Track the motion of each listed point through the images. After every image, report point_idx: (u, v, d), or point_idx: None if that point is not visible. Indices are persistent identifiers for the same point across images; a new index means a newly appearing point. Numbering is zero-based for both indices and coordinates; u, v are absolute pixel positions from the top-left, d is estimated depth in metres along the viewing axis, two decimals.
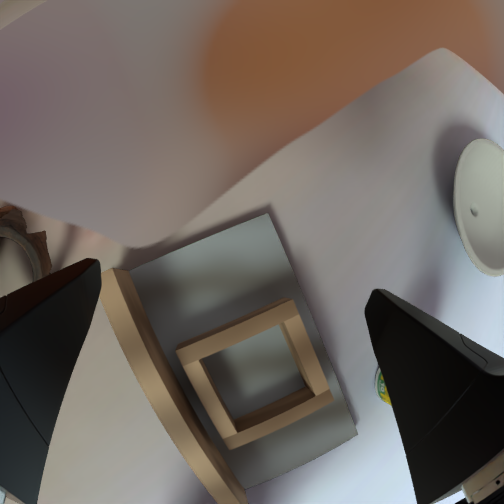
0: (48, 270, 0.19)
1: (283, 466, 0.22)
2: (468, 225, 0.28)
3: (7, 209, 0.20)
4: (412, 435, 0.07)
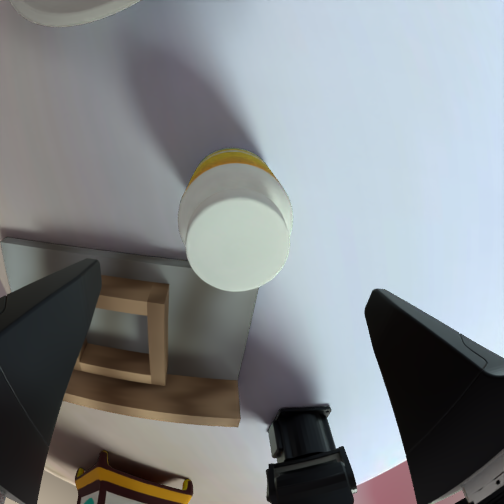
0: None
1: (234, 349, 0.25)
2: None
3: None
4: (412, 434, 0.07)
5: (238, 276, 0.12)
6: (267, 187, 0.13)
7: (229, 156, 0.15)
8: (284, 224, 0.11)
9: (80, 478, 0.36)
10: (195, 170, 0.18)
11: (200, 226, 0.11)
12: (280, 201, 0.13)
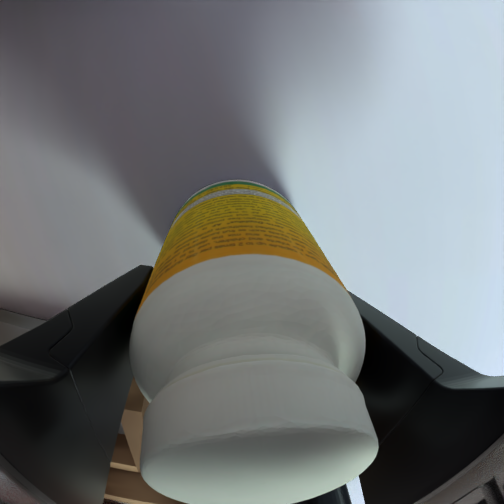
0: None
1: None
2: None
3: None
4: None
5: (260, 501, 0.04)
6: (327, 322, 0.05)
7: (233, 214, 0.07)
8: (375, 443, 0.04)
9: None
10: (172, 224, 0.10)
11: (170, 467, 0.03)
12: (352, 343, 0.05)
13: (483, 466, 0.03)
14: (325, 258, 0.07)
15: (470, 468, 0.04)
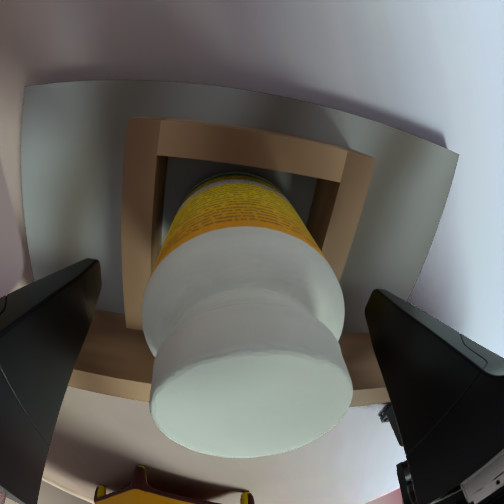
0: None
1: (407, 275, 0.16)
2: None
3: None
4: (412, 435, 0.07)
5: (253, 446, 0.06)
6: (307, 280, 0.06)
7: (230, 199, 0.09)
8: (348, 380, 0.05)
9: (103, 500, 0.26)
10: (177, 211, 0.11)
11: (175, 395, 0.05)
12: (330, 302, 0.07)
13: None
14: (309, 235, 0.08)
15: None
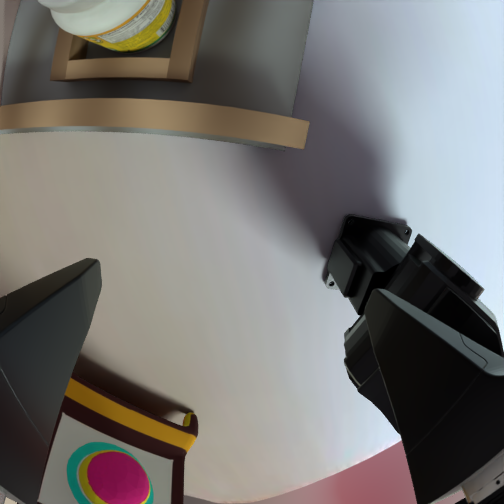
0: None
1: (289, 55, 0.16)
2: None
3: None
4: (412, 435, 0.07)
5: None
6: None
7: None
8: None
9: None
10: None
11: None
12: None
13: None
14: None
15: None
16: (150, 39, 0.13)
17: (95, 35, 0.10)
